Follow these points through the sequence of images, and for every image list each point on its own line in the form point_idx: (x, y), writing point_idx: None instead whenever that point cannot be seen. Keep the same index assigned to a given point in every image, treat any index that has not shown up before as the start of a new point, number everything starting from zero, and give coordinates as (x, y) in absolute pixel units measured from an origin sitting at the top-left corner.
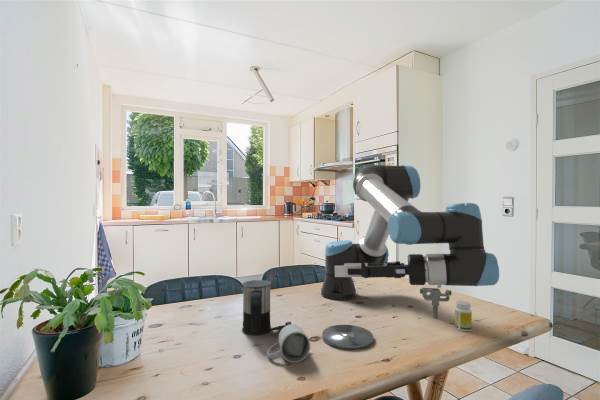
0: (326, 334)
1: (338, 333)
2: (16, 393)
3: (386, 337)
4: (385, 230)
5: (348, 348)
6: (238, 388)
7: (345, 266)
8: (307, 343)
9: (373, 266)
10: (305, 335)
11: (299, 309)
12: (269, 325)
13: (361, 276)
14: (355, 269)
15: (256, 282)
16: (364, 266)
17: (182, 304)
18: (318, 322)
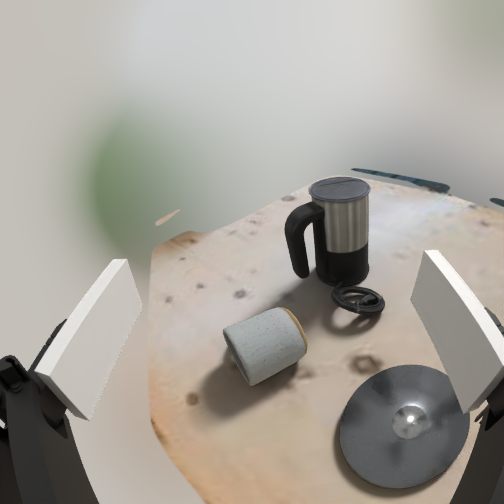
0: (381, 381)
1: (402, 401)
2: (156, 221)
3: None
4: None
5: (342, 451)
6: (159, 332)
7: (84, 300)
8: (262, 372)
9: (11, 451)
10: (242, 359)
11: (469, 273)
12: (349, 276)
13: (74, 413)
14: (42, 354)
15: (346, 185)
16: (5, 385)
17: None
18: None
